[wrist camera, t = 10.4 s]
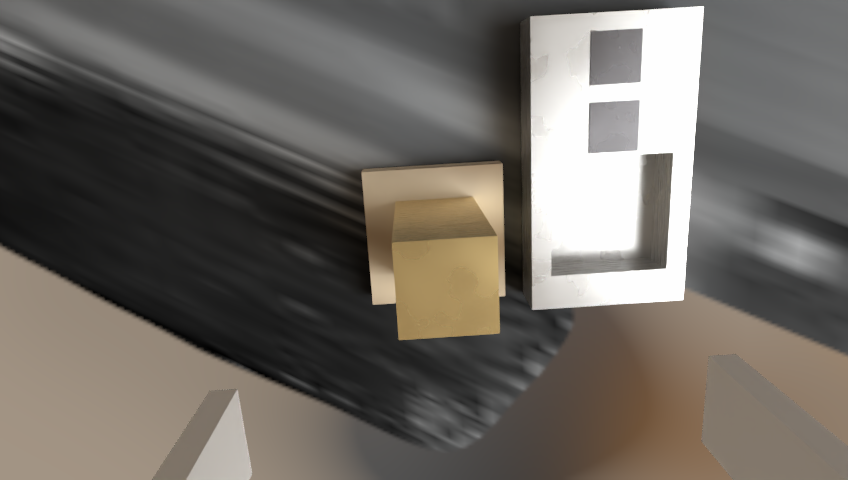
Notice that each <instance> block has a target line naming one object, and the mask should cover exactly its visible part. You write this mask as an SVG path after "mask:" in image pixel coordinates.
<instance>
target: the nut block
mask: <svg viewBox="0 0 848 480" xmlns="http://www.w3.org/2000/svg"><path fill="white" fill-rule="evenodd" d="M392 255H393V268H394V282H395V295H396V308H397V322H398V335H399V340H408V339H424V338H439V337H454V336H469V335H484V334H499V333H500V318H499V274H498V236H497V234H496V232H495V231H494V229H493V228H492V226H491V225H490V223H489V221H488V220H487V218H486V217H485V215H484V213H483V212H482V210H481V209H480V207H479V206H478V204H477V202H476V201H475V199H474V198H473V197H459V198H443V199H427V200H411V201H396V202H395V212H394V222H393V233H392Z"/></svg>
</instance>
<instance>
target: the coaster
mask: <svg viewBox="0 0 848 480" xmlns="http://www.w3.org/2000/svg"><path fill="white" fill-rule="evenodd" d="M361 174H362V185H363V197H364V208H365V220H366V231H367V243H368V254H369V265H370V277H371V288H372V300H373V305H376V304H391V303H396V295H395V282H394V268H393V255H392V233H393V222H394V212H395V202H396V201H411V200H427V199H443V198H459V197H473V198H474V199H475V201H476V202H477V204H478V206H479V207H480V209H481V210H482V212H483V213H484V215H485V217H486V218H487V220H488V221H489V223H490V225H491V226H492V228H493V229H494V231H495V232H496V234H497V236H498V274H499V296H505V253H504V203H503V163H501V162H500V161H486V162H470V163H454V164H437V165H421V166H405V167H389V168H372V169H363V170H362V172H361Z"/></svg>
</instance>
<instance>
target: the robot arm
mask: <svg viewBox="0 0 848 480" xmlns="http://www.w3.org/2000/svg"><path fill="white" fill-rule="evenodd" d="M702 442H703V444H704V445H705V446H706V447H707V449H708V450H709V451H710V452H711V454H712V455H713V456H714V457H715V458H716V459H717V461H718V462H719V463H720V464H721V466H722V467H723V468H724V469H725V470H726V471H727V473H728V474H729V475H730V477H731V478H732V479H733V480H848V446H847V445H846V444H845V443H843V442H842V441H841V440H840V439H839V438H837V437H836V436H835V435H834V434H833V433H831V432H830V431H829V430H828V429H826V428H825V427H824V426H823V425H821V424H820V423H819V422H818V421H817V420H815V419H814V418H813V417H812V416H811V415H809V414H808V413H807V412H806V411H805V410H803V409H802V408H801V407H800V406H798V405H797V404H796V403H795V402H794V401H792V400H791V399H790V398H789V397H788V396H786V395H785V394H784V393H783V392H781V391H780V390H779V389H778V388H777V387H775V386H774V385H773V384H772V383H770V382H769V381H768V380H767V379H766V378H764V377H763V376H762V375H761V374H760V373H758V372H757V371H756V370H755V369H753V368H752V367H751V366H750V365H749V364H747V363H746V362H745V361H744V360H743V359H741V358H740V357H739V356H738V355H736V354H732V355H717V356H709V360H708V371H707V383H706V395H705V406H704V419H703V430H702ZM251 475H252V470H251V464H250V458H249V452H248V447H247V441H246V435H245V429H244V424H243V418H242V412H241V407H240V400H239V395H238V389H229V390H215V391H209V393H208V394H207V396H206V397H205V399H204V400H203V402H202V404H201V405H200V407H199V408H198V410H197V411H196V413H195V414H194V416H193V417H192V419H191V421H190V422H189V424H188V425H187V427H186V428H185V430H184V431H183V433H182V434H181V436H180V437H179V439H178V440H177V442H176V443H175V445H174V447H173V448H172V450H171V451H170V453H169V454H168V456H167V457H166V459H165V460H164V462H163V464H162V465H161V466H160V468H159V470H158V471H157V473H156V474H155V476H154V477H153V479H152V480H250V477H251Z"/></svg>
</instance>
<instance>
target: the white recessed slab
mask: <svg viewBox="0 0 848 480" xmlns="http://www.w3.org/2000/svg"><path fill="white" fill-rule="evenodd" d="M703 12H704V6H702V7H684V8H667V9H650V10H632V11H615V12H598V13H580V14H563V15H545V16H530V17H528V18H527V19H525V20H523V21H522V22H520V77H521V167H522V257H523V295H524V296H525V298H526V300H527V302H528V303H529V305H530V307H531V309H532V310H539V309H554V308H569V307H584V306H599V305H615V304H630V303H644V302H660V301H676V300H683V297H684V283H685V269H686V255H687V241H688V226H689V212H690V198H691V183H692V169H693V155H694V141H695V126H696V112H697V98H698V84H699V69H700V55H701V41H702V27H703Z"/></svg>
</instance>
